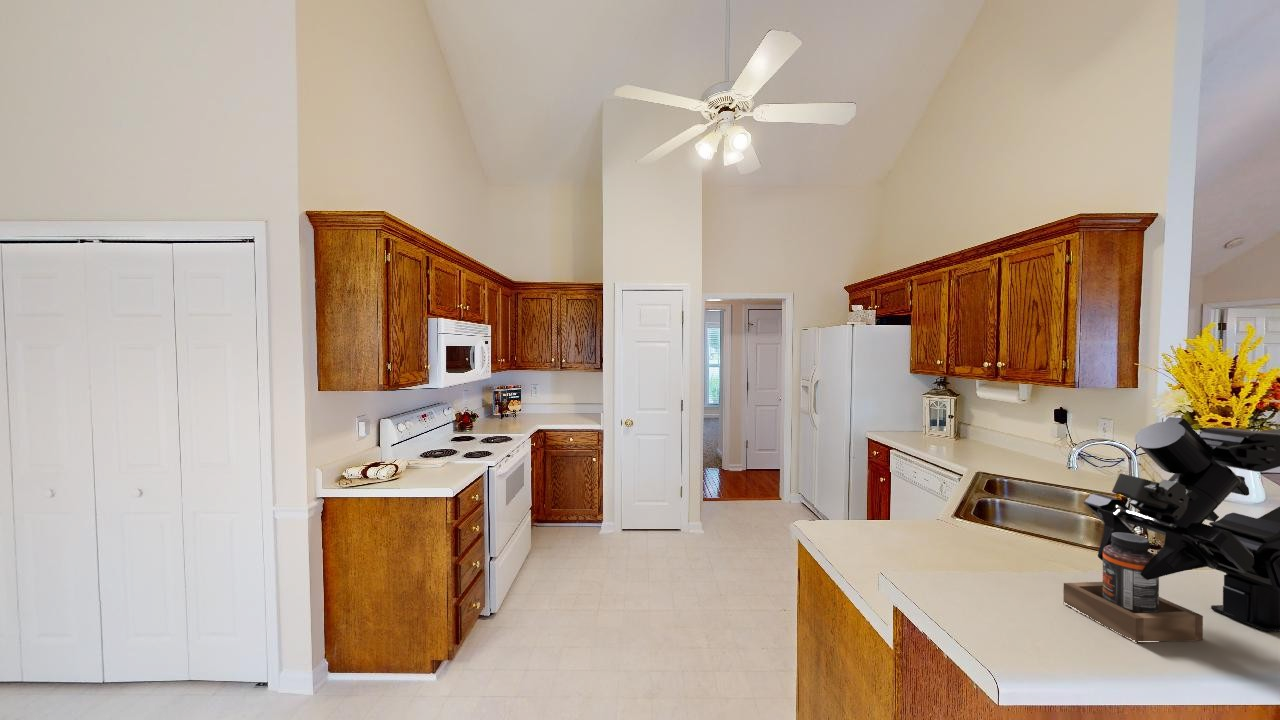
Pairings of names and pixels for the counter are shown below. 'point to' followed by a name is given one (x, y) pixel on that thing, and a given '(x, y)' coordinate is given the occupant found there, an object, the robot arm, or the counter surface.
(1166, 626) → the socket collar
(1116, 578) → the supplement bottle
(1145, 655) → the counter surface
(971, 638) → the counter surface
